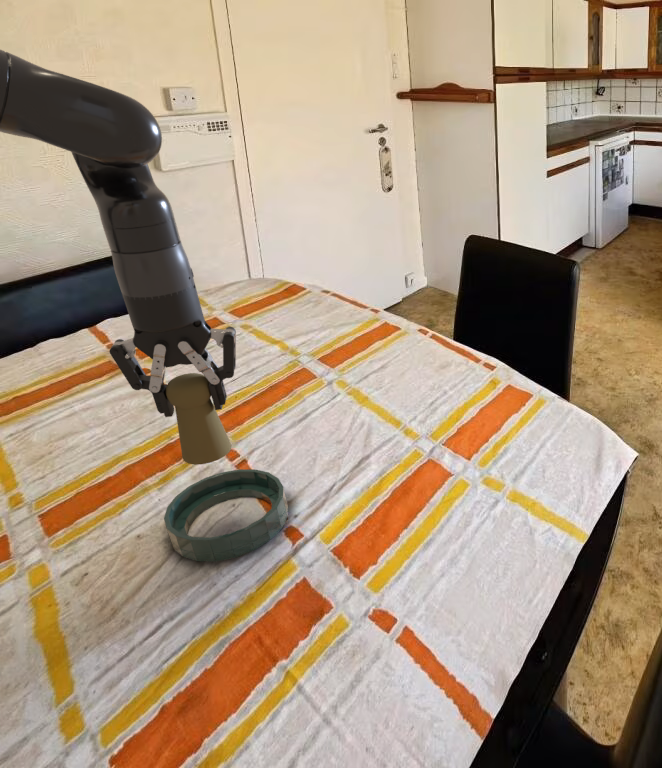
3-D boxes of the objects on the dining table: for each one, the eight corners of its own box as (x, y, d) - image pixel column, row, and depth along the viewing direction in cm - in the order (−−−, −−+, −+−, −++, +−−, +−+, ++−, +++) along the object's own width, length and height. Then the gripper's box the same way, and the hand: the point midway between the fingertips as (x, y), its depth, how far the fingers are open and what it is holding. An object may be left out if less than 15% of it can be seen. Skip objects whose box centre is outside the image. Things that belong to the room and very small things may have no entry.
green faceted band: (164, 580, 80) (153, 550, 78) (184, 506, 93) (175, 479, 91) (288, 555, 84) (281, 526, 81) (290, 488, 97) (284, 461, 94)
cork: (235, 455, 82) (214, 381, 76) (184, 469, 79) (160, 394, 74) (228, 434, 86) (208, 363, 81) (180, 447, 84) (157, 374, 78)
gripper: (77, 301, 67) (126, 435, 75) (220, 287, 70) (252, 416, 78) (97, 280, 73) (140, 405, 81) (227, 267, 77) (256, 388, 85)
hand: (195, 409), depth 80 cm, fingers closed on cork, 5 cm apart
